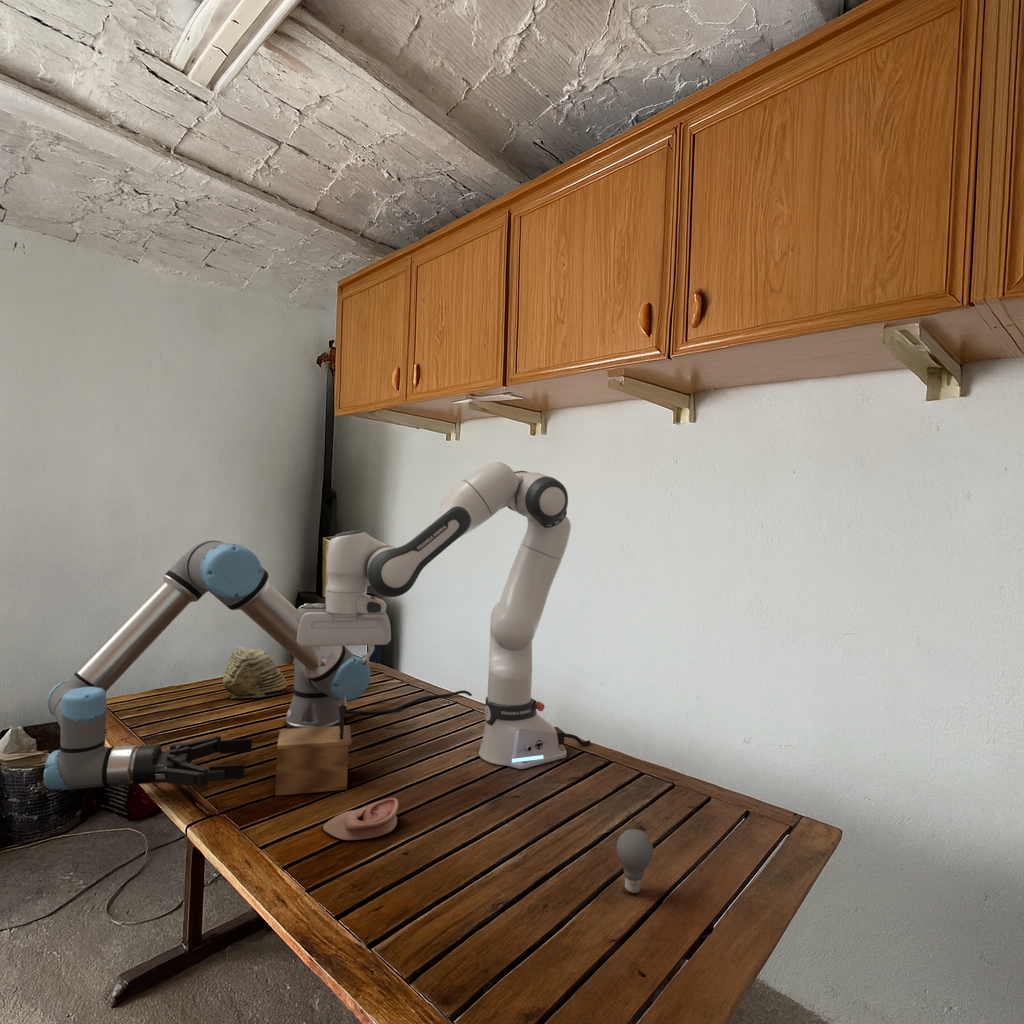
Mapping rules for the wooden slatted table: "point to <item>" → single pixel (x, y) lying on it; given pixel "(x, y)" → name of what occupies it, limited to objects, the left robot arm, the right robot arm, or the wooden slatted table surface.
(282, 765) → the chest
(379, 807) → the anatomical model
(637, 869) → the light bulb
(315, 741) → the lid
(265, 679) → the fossil
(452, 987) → the wooden slatted table surface
